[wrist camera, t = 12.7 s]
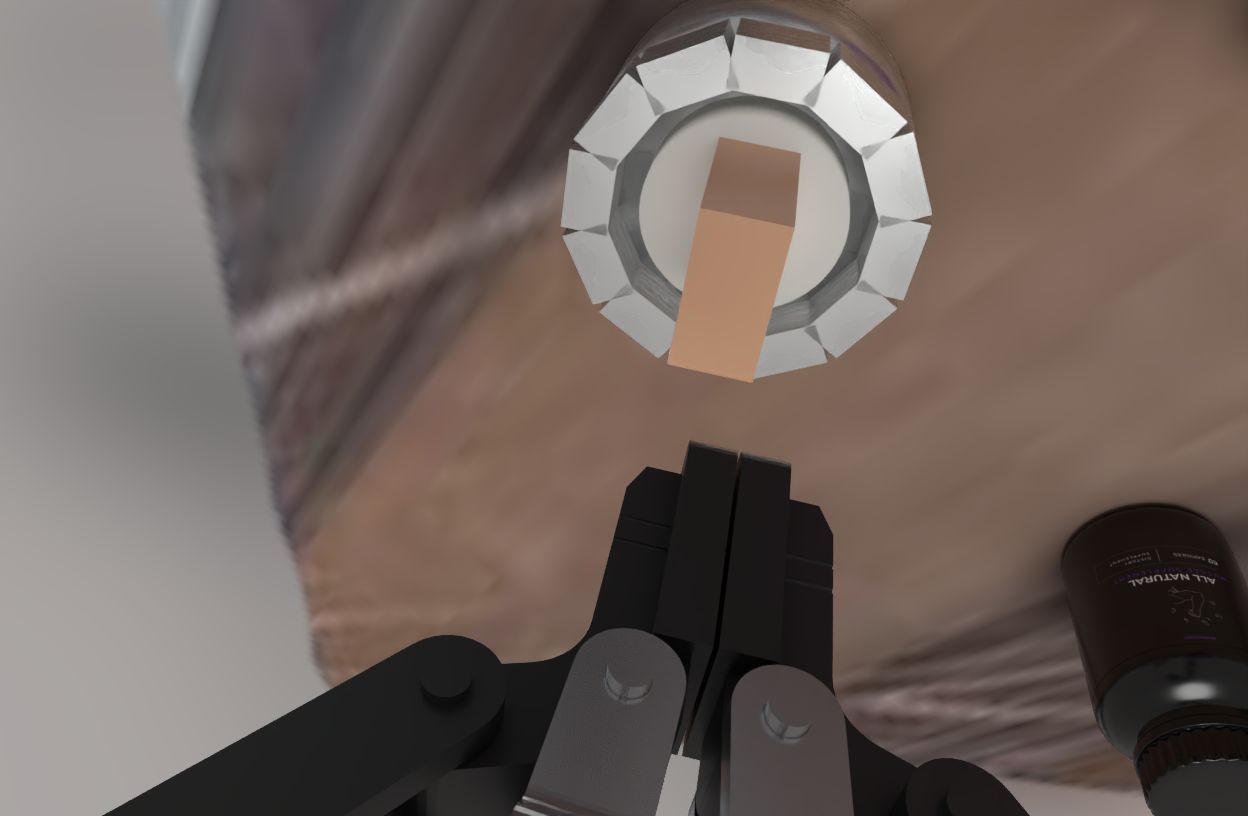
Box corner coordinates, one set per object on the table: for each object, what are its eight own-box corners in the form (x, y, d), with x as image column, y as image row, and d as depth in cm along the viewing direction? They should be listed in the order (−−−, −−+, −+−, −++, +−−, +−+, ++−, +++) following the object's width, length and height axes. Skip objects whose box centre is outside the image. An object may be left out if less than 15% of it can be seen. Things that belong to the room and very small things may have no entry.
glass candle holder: (630, -48, 32) (585, 3, 26) (958, 17, 31) (984, 84, 26) (589, 245, 38) (548, 335, 33) (859, 304, 38) (863, 405, 32)
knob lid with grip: (665, 76, 29) (626, 161, 23) (875, 119, 28) (884, 215, 23) (634, 262, 33) (594, 371, 27) (819, 301, 32) (815, 420, 27)
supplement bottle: (1167, 474, 40) (1271, 714, 30) (1259, 565, 42) (1384, 818, 32) (1024, 550, 44) (1077, 785, 34) (1115, 631, 46) (1188, 875, 36)
